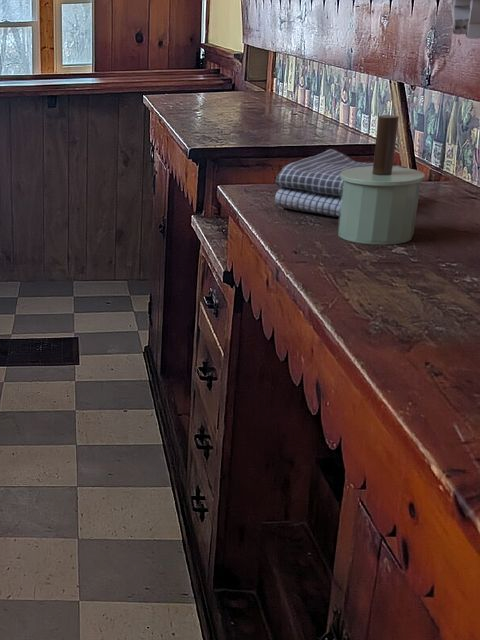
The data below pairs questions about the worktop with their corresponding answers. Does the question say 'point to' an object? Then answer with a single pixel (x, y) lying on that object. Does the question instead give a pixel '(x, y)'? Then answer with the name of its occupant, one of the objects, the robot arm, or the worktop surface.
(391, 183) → the lid
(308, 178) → the towel
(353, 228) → the canister
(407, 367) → the worktop surface
